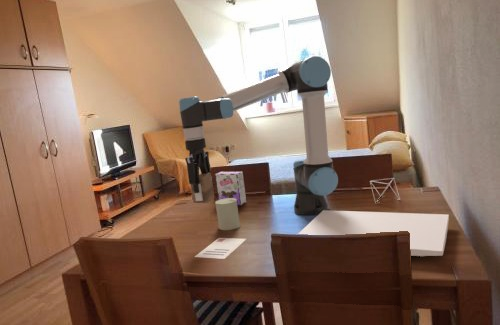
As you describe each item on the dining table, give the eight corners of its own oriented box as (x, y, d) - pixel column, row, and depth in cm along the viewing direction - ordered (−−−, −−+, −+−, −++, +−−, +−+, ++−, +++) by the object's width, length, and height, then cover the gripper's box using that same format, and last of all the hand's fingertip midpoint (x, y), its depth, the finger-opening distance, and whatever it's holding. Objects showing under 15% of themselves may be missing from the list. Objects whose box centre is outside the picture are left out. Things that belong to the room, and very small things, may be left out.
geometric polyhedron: (402, 197, 175) (401, 177, 174) (397, 204, 166) (396, 183, 165) (374, 196, 182) (372, 177, 181) (368, 203, 173) (366, 183, 172)
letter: (246, 239, 147) (246, 238, 147) (224, 259, 131) (224, 258, 131) (219, 238, 152) (218, 237, 152) (194, 257, 136) (194, 256, 136)
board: (293, 252, 130) (291, 239, 129) (324, 221, 157) (323, 210, 157) (443, 267, 107) (442, 251, 107) (449, 227, 135) (448, 214, 134)
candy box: (218, 204, 203) (214, 173, 201) (225, 201, 208) (221, 171, 206) (240, 205, 196) (236, 173, 193) (247, 202, 201) (242, 171, 198)
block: (214, 198, 151) (210, 173, 150) (207, 202, 146) (203, 176, 144) (201, 198, 154) (197, 173, 152) (193, 202, 148) (189, 177, 147)
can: (237, 230, 159) (233, 202, 157) (216, 231, 161) (212, 203, 159) (242, 223, 168) (238, 196, 166) (222, 224, 170) (218, 197, 168)
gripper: (198, 136, 156) (207, 191, 160) (172, 143, 139) (182, 205, 142) (215, 134, 153) (223, 191, 157) (190, 141, 136) (200, 205, 140)
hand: (203, 198), depth 150 cm, fingers closed on block, 6 cm apart
